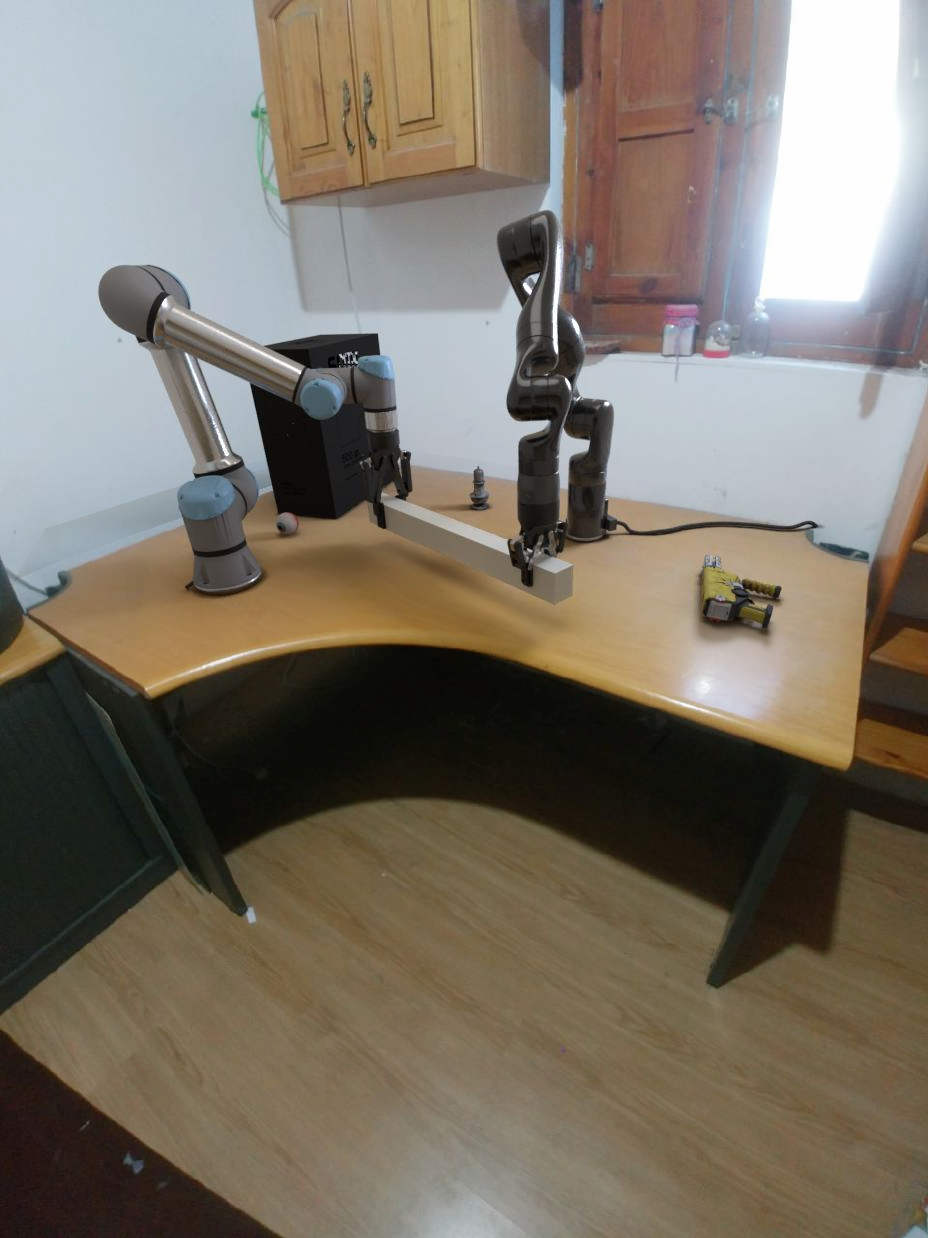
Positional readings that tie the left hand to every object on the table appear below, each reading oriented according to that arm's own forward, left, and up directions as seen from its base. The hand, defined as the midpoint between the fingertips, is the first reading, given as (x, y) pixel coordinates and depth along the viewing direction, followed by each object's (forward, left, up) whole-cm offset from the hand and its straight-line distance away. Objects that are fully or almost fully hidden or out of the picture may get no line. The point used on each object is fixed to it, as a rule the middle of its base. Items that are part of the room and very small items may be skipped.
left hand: (391, 524), depth 150 cm
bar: (+8, -24, 0) cm, 25 cm away
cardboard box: (-4, +49, -6) cm, 50 cm away
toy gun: (+55, -60, -6) cm, 81 cm away
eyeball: (-23, +23, -6) cm, 34 cm away
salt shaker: (+31, +17, -6) cm, 36 cm away
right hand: (+16, -47, +2) cm, 50 cm away
